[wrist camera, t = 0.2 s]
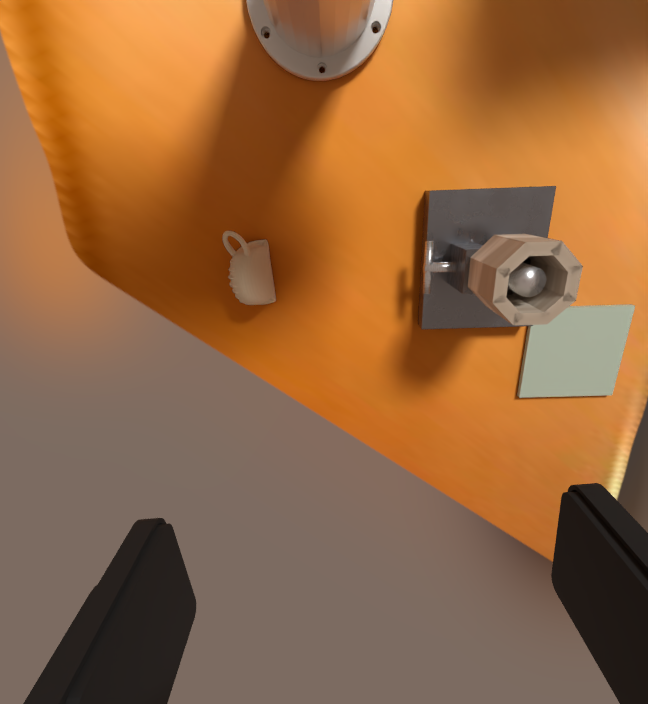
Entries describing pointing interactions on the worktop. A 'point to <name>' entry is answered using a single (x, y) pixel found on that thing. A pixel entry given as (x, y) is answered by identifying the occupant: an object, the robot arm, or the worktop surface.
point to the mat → (575, 352)
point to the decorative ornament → (250, 271)
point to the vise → (475, 250)
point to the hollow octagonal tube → (507, 255)
